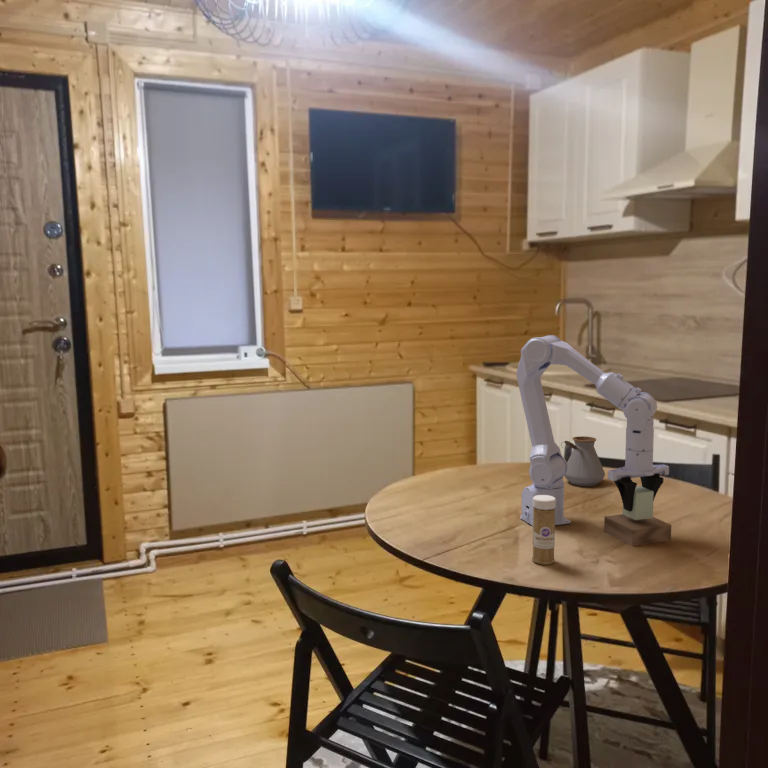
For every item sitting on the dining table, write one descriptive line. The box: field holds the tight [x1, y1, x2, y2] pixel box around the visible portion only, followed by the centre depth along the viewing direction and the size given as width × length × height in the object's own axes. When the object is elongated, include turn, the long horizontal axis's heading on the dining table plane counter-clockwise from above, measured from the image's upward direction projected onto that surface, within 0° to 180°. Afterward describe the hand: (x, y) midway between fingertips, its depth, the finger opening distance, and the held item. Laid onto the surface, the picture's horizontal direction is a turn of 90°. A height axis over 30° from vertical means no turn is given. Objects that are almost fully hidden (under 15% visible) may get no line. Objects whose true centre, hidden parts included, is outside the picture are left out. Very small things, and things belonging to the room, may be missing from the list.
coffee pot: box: [560, 436, 606, 487], centre depth 197 cm, size 21×12×15 cm, turn 145°
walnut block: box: [603, 513, 672, 547], centre depth 158 cm, size 10×10×4 cm
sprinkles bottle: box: [531, 495, 556, 566], centre depth 143 cm, size 5×5×14 cm
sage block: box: [622, 485, 654, 520], centre depth 157 cm, size 4×4×6 cm
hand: (637, 508), depth 157 cm, fingers closed on sage block, 4 cm apart
